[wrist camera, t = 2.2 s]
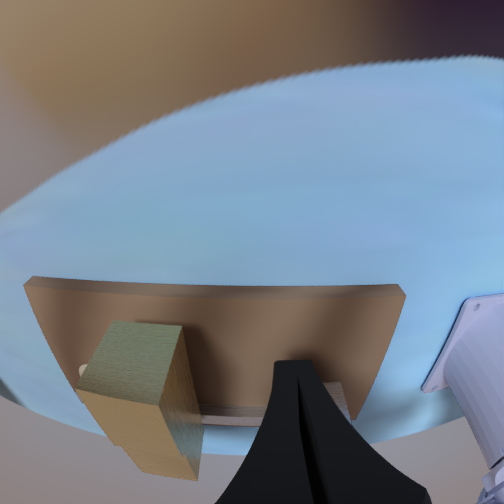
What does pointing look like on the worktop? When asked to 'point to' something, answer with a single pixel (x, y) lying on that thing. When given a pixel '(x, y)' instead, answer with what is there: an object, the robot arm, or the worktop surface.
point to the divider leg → (146, 397)
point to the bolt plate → (230, 330)
